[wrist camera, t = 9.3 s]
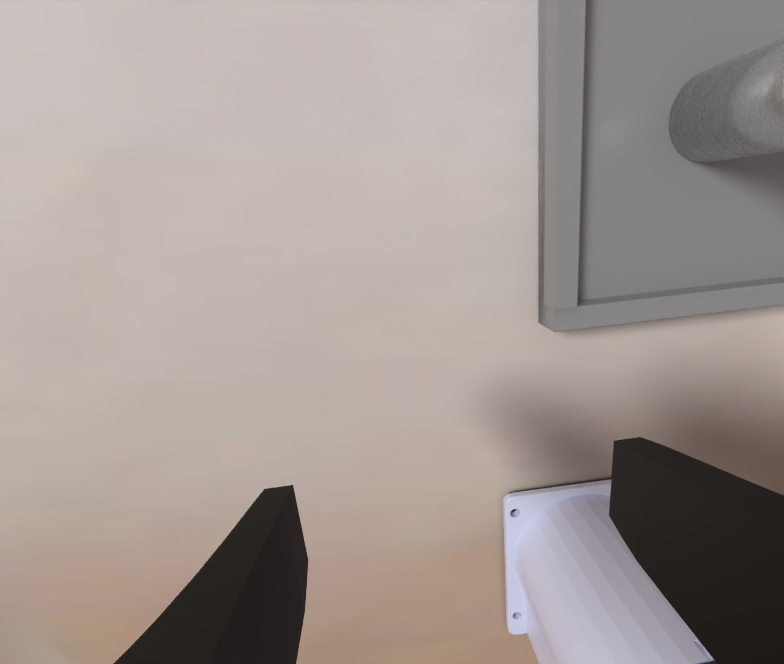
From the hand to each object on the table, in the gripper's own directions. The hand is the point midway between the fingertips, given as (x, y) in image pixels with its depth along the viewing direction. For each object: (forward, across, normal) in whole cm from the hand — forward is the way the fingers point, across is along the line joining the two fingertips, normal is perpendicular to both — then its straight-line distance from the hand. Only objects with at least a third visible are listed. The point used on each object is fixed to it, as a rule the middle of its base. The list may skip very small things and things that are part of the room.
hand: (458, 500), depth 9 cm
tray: (+10, -13, -8) cm, 19 cm away
